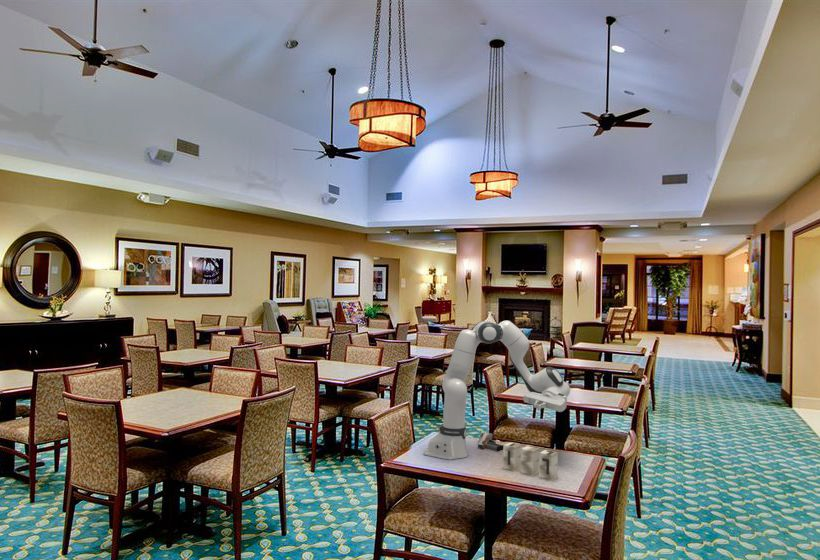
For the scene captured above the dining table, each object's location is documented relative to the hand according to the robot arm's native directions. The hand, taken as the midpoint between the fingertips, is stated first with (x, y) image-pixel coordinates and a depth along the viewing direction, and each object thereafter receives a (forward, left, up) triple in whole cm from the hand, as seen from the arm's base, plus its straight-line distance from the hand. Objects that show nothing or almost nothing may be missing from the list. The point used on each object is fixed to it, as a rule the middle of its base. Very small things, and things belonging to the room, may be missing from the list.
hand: (536, 406), depth 245 cm
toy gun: (-27, +30, -29) cm, 50 cm away
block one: (-10, -7, -28) cm, 31 cm away
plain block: (-2, -10, -28) cm, 30 cm away
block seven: (+7, -13, -28) cm, 32 cm away
